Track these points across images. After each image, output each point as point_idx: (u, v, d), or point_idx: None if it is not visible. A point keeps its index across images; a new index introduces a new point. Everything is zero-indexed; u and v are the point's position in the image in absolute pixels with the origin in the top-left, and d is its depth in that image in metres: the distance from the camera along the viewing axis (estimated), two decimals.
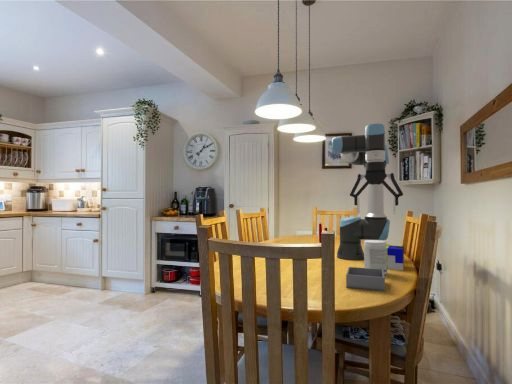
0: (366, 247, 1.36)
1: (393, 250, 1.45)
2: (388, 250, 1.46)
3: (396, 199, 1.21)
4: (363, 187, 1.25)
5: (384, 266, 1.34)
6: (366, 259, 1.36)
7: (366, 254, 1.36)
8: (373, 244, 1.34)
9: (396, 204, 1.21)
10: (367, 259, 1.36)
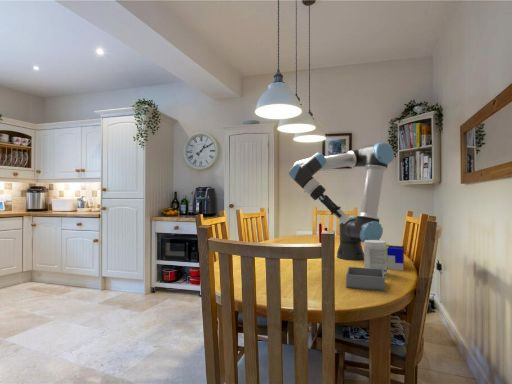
0: (366, 247, 1.36)
1: (393, 250, 1.45)
2: (388, 250, 1.46)
3: (335, 214, 1.37)
4: None
5: (384, 266, 1.34)
6: (366, 259, 1.36)
7: (366, 254, 1.36)
8: (373, 244, 1.34)
9: (338, 217, 1.36)
10: (367, 259, 1.36)
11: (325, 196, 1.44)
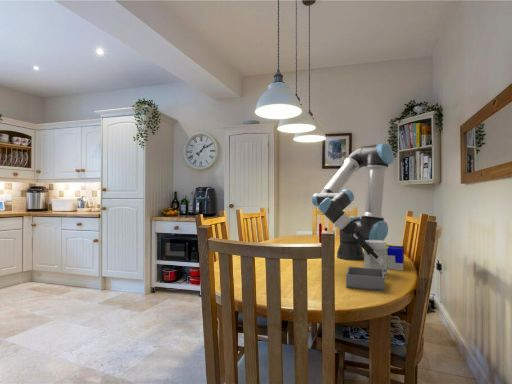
0: None
1: (393, 250, 1.45)
2: (388, 250, 1.46)
3: (371, 254, 1.33)
4: None
5: (384, 266, 1.33)
6: (366, 259, 1.36)
7: (366, 254, 1.36)
8: (373, 244, 1.34)
9: (375, 258, 1.32)
10: (367, 259, 1.36)
11: (358, 233, 1.39)
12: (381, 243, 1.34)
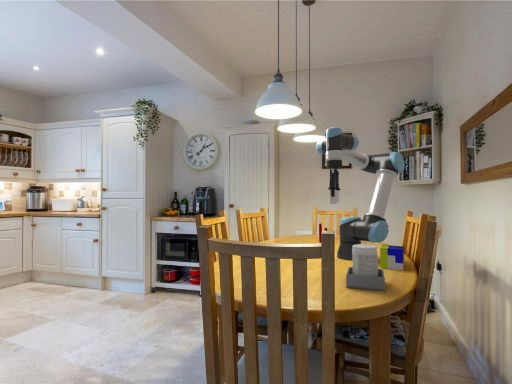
0: (354, 253, 1.19)
1: (393, 250, 1.45)
2: (388, 250, 1.46)
3: (331, 191, 1.40)
4: None
5: (375, 275, 1.17)
6: (354, 266, 1.20)
7: (354, 261, 1.19)
8: (362, 249, 1.17)
9: (331, 195, 1.40)
10: (356, 267, 1.19)
11: (336, 172, 1.44)
12: (371, 248, 1.17)
